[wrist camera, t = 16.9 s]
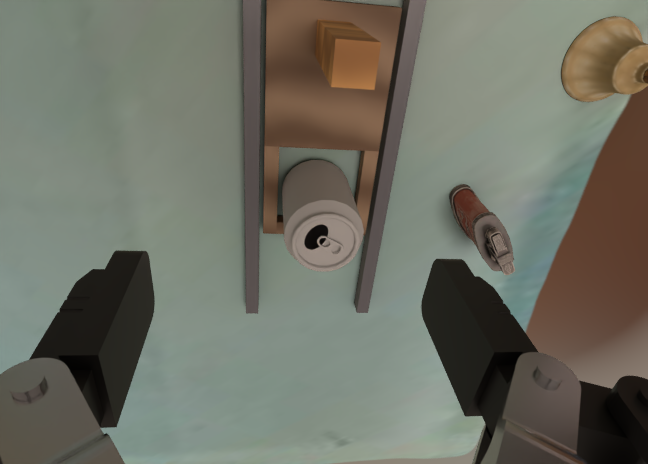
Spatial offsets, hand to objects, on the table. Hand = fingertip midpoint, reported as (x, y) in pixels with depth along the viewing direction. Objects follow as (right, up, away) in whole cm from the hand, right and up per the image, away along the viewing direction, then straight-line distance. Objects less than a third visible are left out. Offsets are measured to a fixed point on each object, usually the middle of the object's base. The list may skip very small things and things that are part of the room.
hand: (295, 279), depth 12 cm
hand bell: (+30, +19, +32) cm, 48 cm away
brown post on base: (+1, +12, +32) cm, 35 cm away
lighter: (+19, +4, +40) cm, 44 cm away
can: (0, +7, +36) cm, 37 cm away
